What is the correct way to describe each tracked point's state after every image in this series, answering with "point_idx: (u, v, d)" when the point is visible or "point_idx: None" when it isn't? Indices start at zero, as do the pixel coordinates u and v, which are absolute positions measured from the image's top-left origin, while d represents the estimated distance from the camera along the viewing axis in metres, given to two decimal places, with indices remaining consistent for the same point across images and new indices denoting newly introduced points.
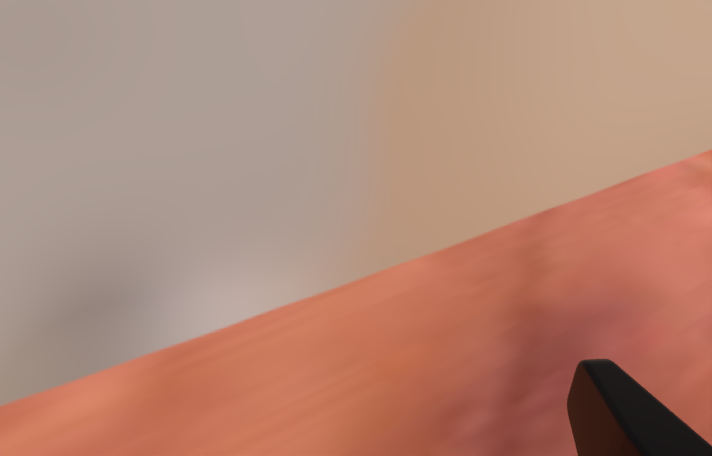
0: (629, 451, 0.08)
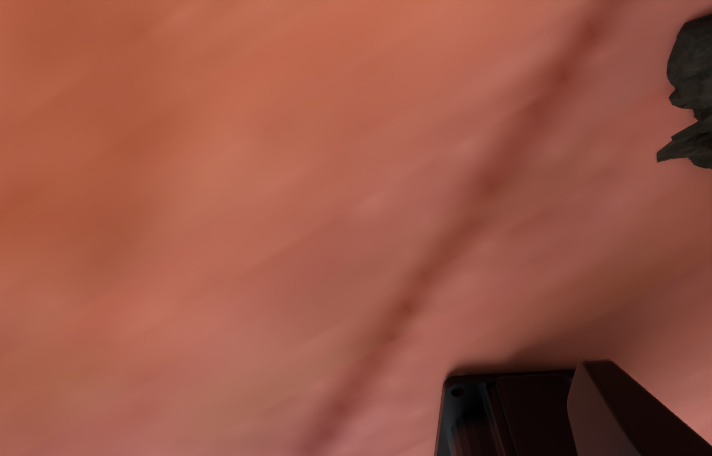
0: (629, 451, 0.08)
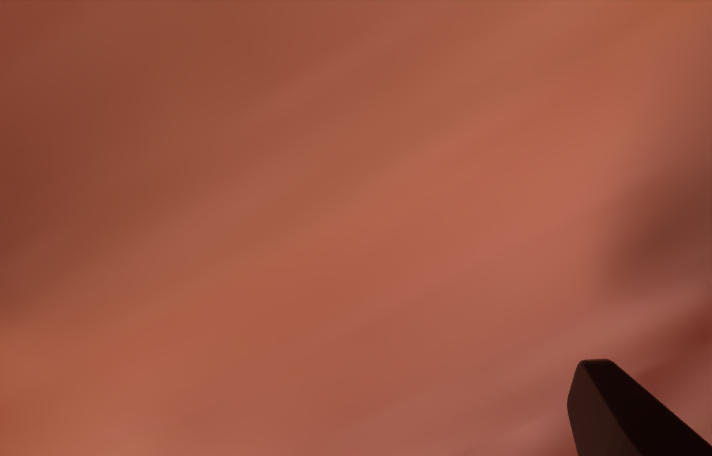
0: (629, 451, 0.08)
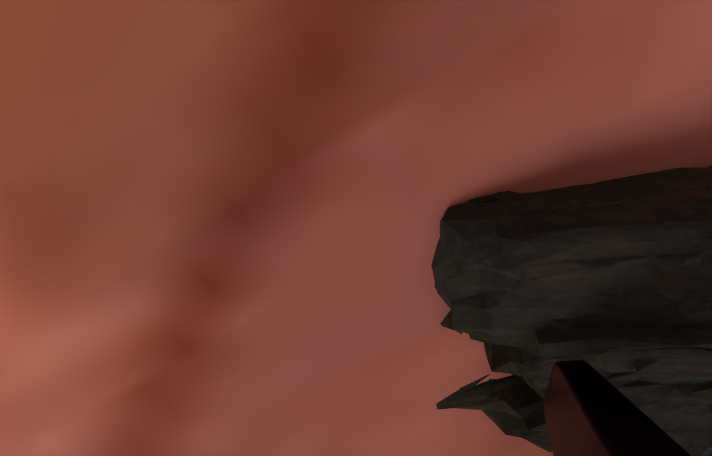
0: (600, 453, 0.08)
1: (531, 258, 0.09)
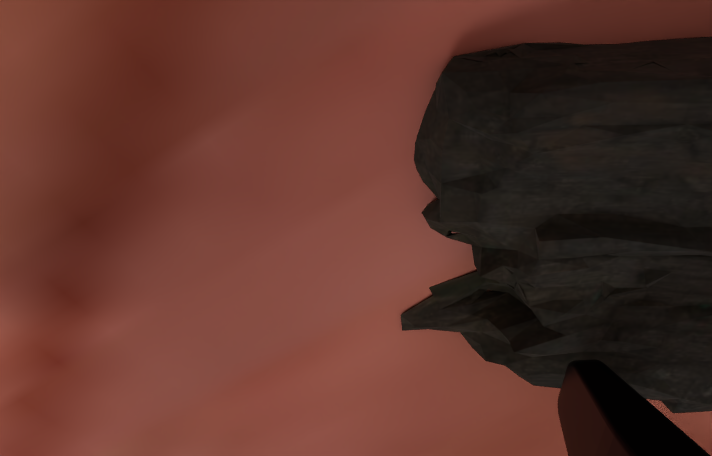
0: (618, 452, 0.08)
1: (546, 118, 0.07)
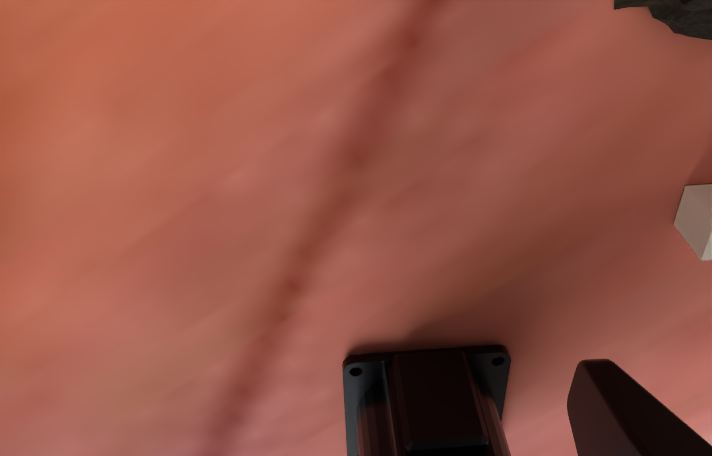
0: (629, 451, 0.08)
1: None
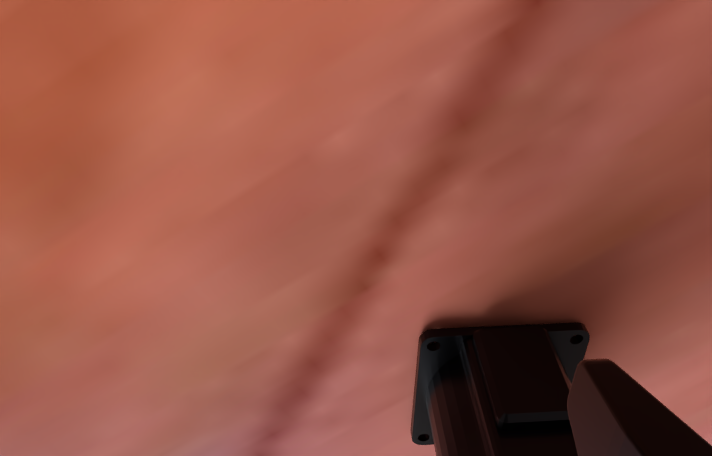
0: (629, 451, 0.08)
1: None
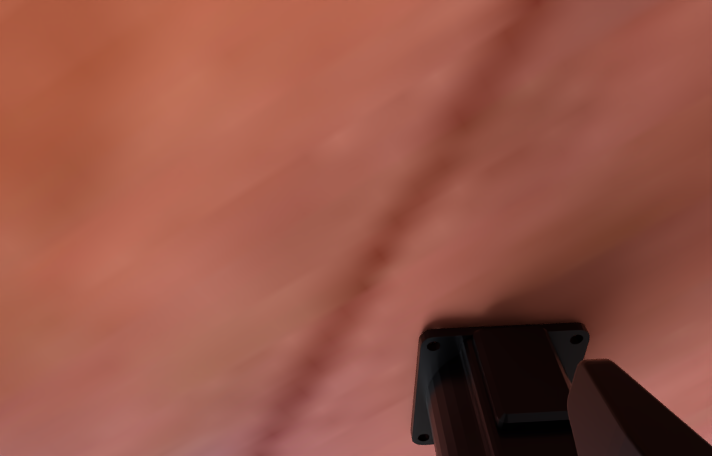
0: (629, 451, 0.08)
1: None
